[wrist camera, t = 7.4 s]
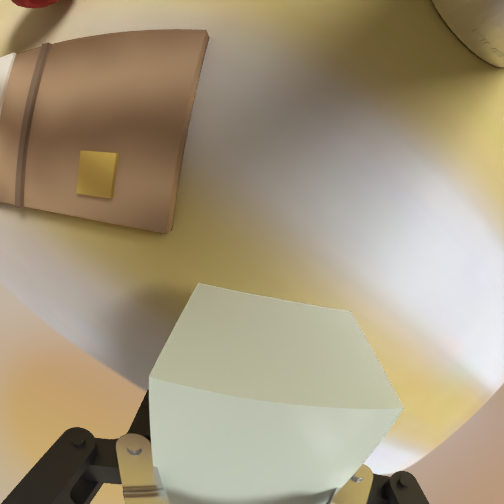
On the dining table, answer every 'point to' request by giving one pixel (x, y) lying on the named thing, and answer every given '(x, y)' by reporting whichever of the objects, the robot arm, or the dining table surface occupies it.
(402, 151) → the dining table surface
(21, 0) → the onion
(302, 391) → the block
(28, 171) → the board
